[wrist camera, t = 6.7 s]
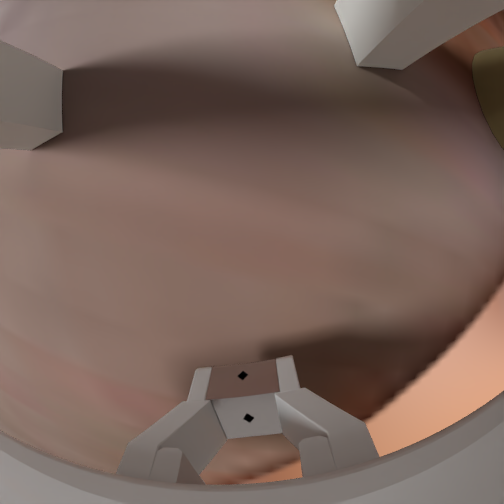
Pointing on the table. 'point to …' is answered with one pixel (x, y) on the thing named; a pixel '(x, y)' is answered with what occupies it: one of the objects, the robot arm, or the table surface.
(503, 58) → the olive tall rounded piece
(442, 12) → the bridge
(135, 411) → the table surface
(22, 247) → the table surface
